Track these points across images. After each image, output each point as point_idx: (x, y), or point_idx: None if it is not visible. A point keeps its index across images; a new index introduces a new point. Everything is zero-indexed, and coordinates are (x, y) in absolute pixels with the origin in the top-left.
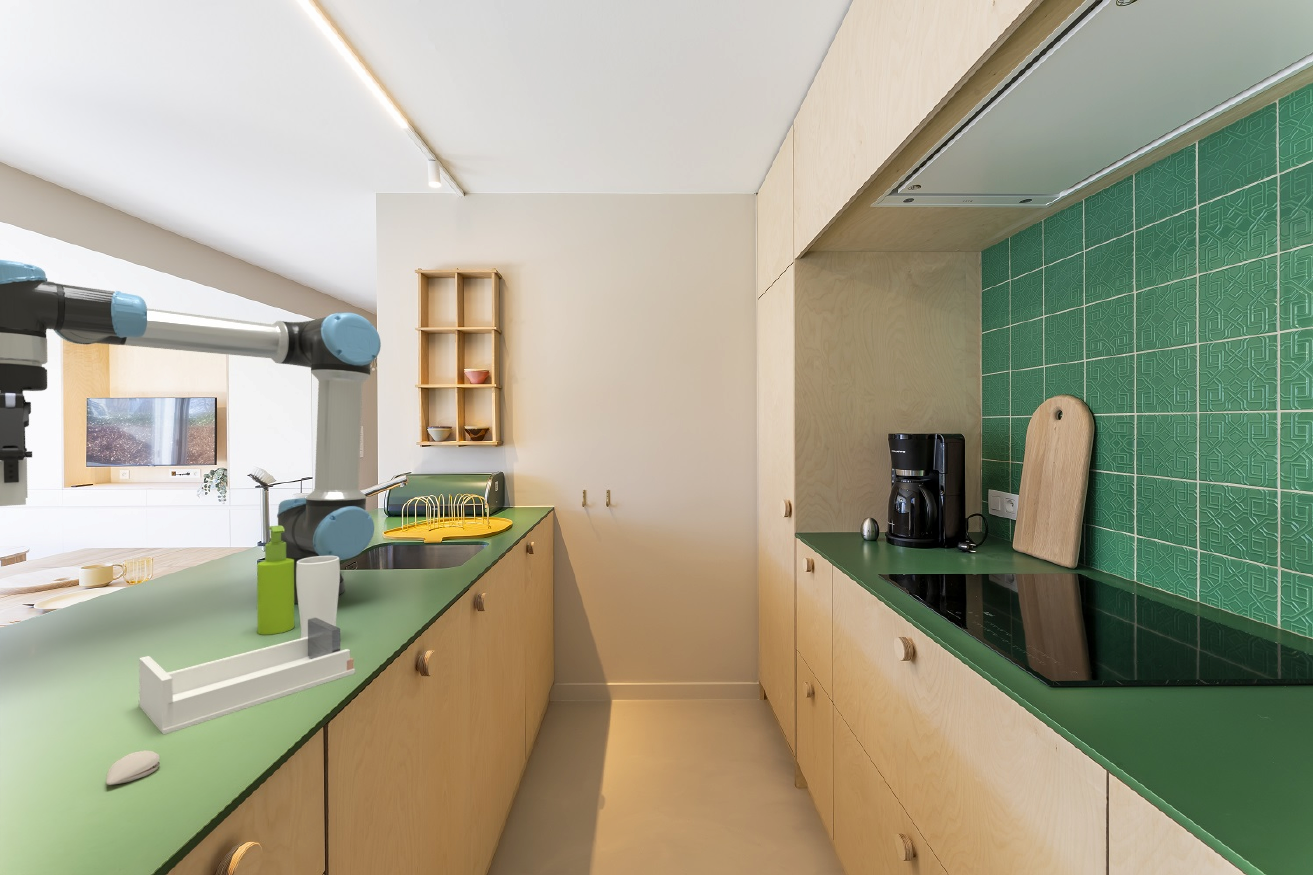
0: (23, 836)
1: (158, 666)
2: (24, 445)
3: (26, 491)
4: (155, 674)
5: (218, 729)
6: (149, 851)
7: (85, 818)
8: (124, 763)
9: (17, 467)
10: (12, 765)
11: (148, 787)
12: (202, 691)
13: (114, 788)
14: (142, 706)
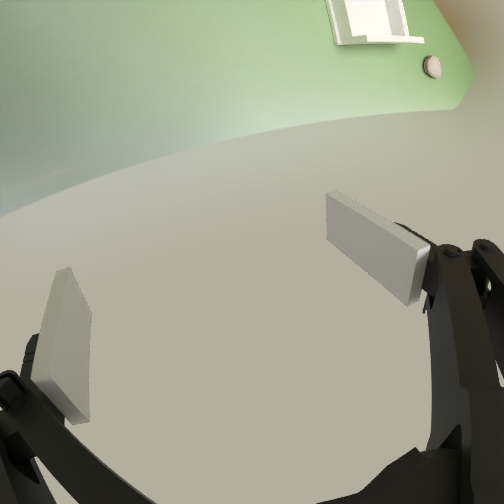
0: (444, 106)
1: (396, 36)
2: (67, 432)
3: (67, 280)
4: (410, 42)
5: None
6: (470, 74)
7: (446, 87)
8: (439, 71)
9: (428, 242)
10: (381, 113)
11: None
12: (403, 19)
13: None
14: (349, 44)
